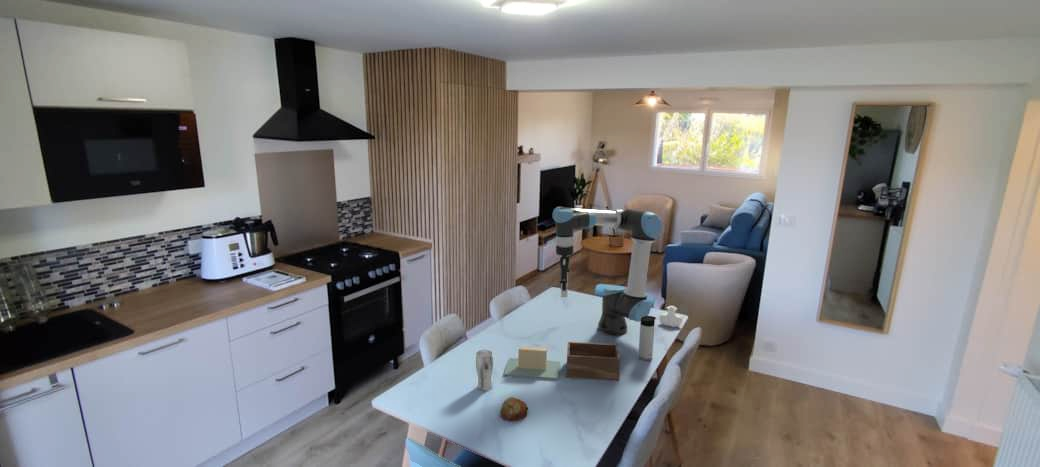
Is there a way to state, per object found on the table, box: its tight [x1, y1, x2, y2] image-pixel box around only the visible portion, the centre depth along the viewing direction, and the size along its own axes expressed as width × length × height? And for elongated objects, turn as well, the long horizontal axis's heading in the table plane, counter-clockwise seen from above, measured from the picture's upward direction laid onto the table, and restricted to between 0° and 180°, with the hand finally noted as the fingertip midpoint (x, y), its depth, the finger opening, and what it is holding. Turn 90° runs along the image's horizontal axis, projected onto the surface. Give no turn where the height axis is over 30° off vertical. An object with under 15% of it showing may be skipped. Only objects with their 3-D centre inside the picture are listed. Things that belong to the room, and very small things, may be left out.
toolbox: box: [566, 341, 621, 382], centre depth 210 cm, size 14×22×10 cm, turn 83°
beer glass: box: [475, 349, 494, 392], centre depth 196 cm, size 7×7×15 cm
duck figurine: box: [658, 305, 683, 328], centre depth 261 cm, size 12×8×11 cm
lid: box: [503, 345, 561, 381], centre depth 211 cm, size 15×23×10 cm, turn 82°
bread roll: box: [500, 396, 529, 422], centre depth 179 cm, size 10×10×8 cm
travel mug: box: [638, 315, 657, 361], centre depth 222 cm, size 6×7×20 cm
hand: (564, 291), depth 215 cm, fingers open, 13 cm apart
